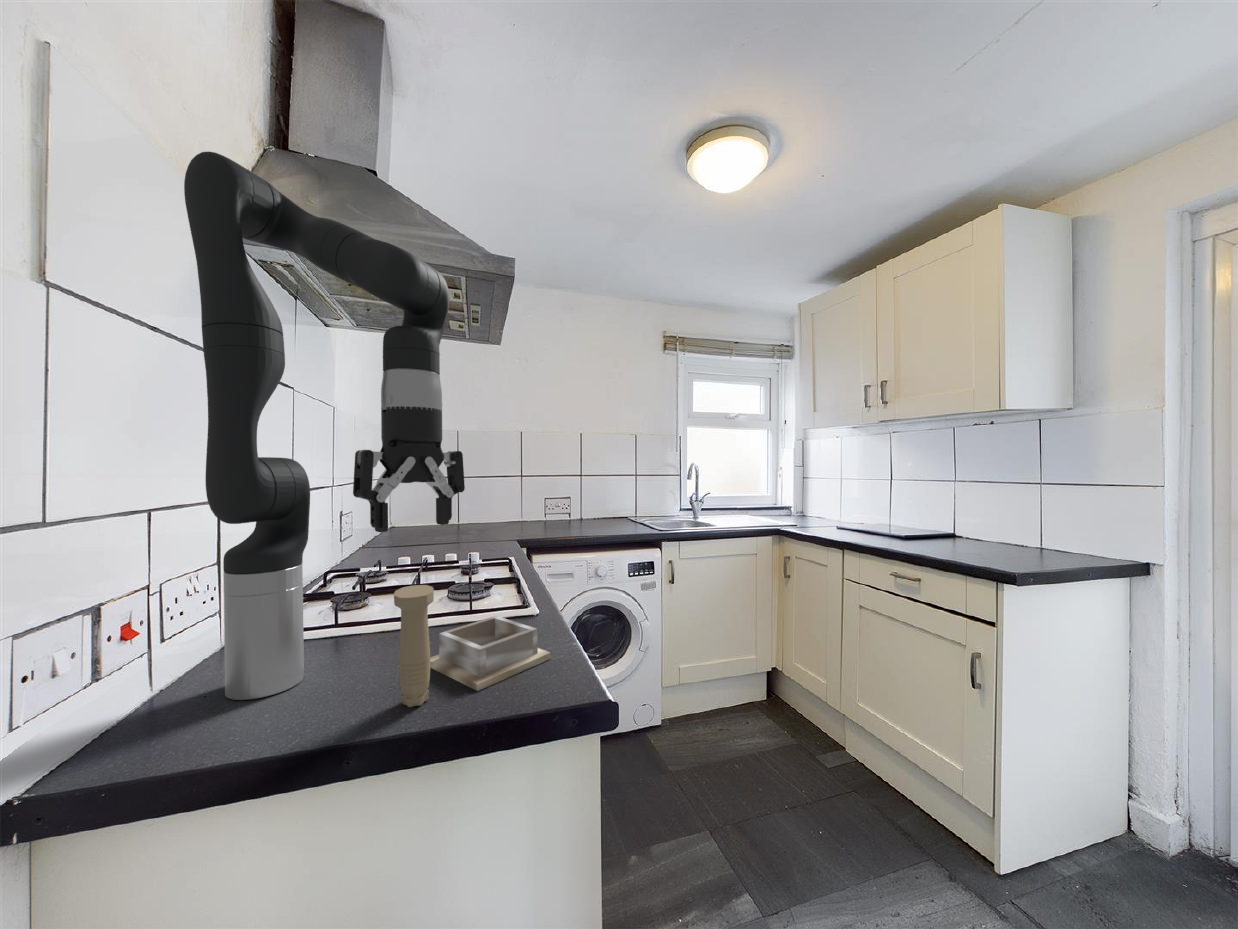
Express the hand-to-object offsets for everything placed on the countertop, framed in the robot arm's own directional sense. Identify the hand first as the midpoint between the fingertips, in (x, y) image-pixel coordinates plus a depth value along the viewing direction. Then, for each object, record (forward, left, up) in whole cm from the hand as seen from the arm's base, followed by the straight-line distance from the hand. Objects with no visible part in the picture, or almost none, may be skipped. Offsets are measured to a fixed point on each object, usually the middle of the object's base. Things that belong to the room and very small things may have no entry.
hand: (413, 527), depth 64 cm
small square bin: (-3, +14, -24) cm, 28 cm away
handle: (0, 0, -24) cm, 24 cm away
